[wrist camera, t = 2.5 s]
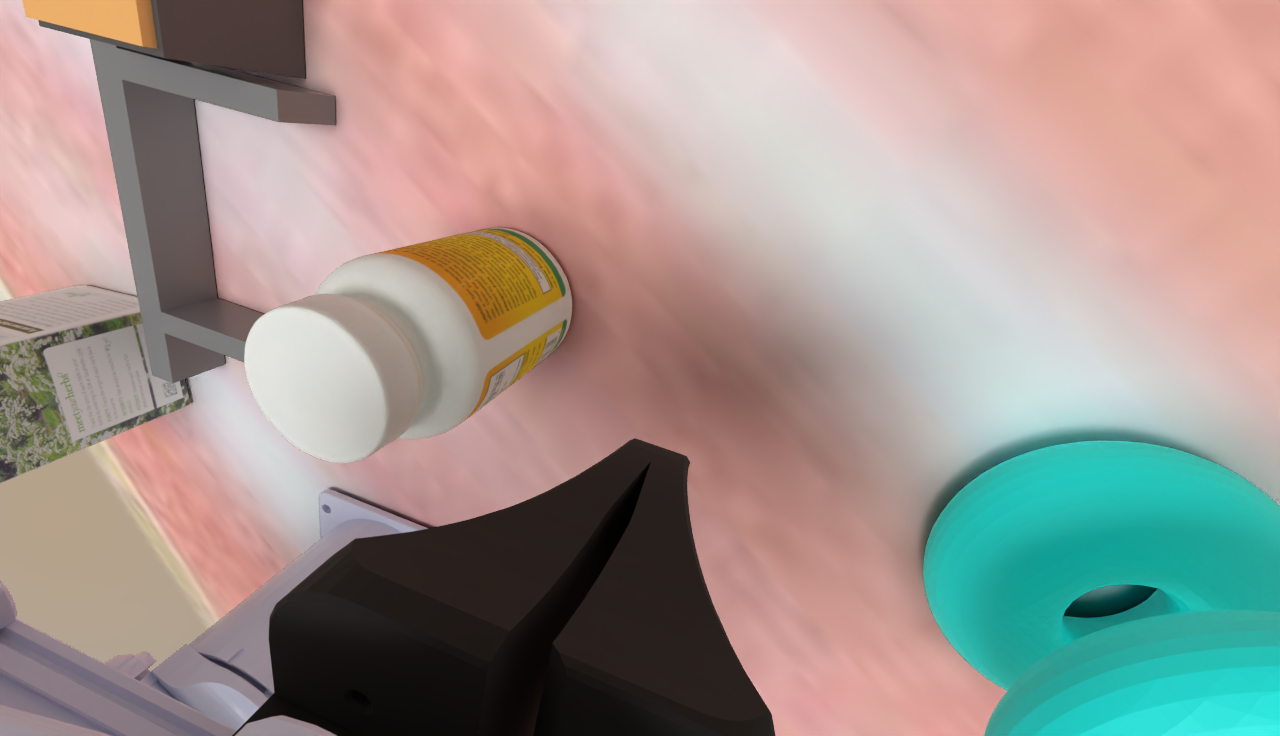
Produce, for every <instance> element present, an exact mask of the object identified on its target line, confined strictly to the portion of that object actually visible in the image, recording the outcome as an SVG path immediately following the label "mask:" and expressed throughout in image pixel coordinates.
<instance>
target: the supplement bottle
mask: <svg viewBox="0 0 1280 736" xmlns="http://www.w3.org/2000/svg"><path fill="white" fill-rule="evenodd" d="M571 316H572V296H571V291H570V287H569V283H568V280H567V277H566V276H565V274H564V272H563V270H562V268H561V267H560V265H559V264H558V262H557V261H556V260H555V258H554V257H553V256H552V254H551V253H550V252H549V251H548V250H547V249H546V248H545V247H544V246H543V245H542V244H541V243H539V242H538V241H537V240H535V239H534V238H532V237H531V236H529V235H527V234H525V233H522V232H519V231H516V230H513V229H508V228H488V229H483V230H477V231H474V232H469V233H463V234H459V235H454V236H450V237H446V238H441V239H437V240H432V241H428V242H424V243H420V244H415V245H411V246H406V247H401V248H397V249H393V250H388V251H384V252H379V253H375V254H370V255H366V256H362V257H359V258H356V259H353V260H351V261H349V262H346V263H344V264H343V265H341V266H340V267H338V268H337V269H335V270H334V271H333V272H332V273H331V274H330V275H329V276H328V277H327V278H326V279H325V280H324V281H323V282H322V284H321V285H320V287H319V288H318V290H317V292H316V294H315V295H312V296H309V297H306V298H304V299H301V300H298V301H295V302H292V303H289V304H286V305H283V306H279V307H277V308H275V309H273V310H271V311H269V312H267V313H265V314H264V315H263V316H261V317H260V318H259V319H258V320H257V321H256V322H255V323H254V325H253V326H252V328H251V330H250V332H249V334H248V337H247V340H246V344H245V353H244V364H245V371H246V376H247V380H248V384H249V386H250V389H251V392H252V394H253V396H254V398H255V400H256V402H257V404H258V406H259V408H260V409H261V411H262V413H263V414H264V415H265V417H266V418H267V419H268V420H269V422H270V423H271V424H272V425H273V427H274V428H275V429H276V430H277V431H278V432H279V433H280V434H281V435H282V436H283V437H284V438H285V439H286V440H287V441H289V442H290V443H291V444H293V445H294V446H295V447H297V448H298V449H299V450H301V451H303V452H305V453H307V454H309V455H311V456H314V457H316V458H318V459H321V460H325V461H328V462H333V463H352V462H356V461H359V460H362V459H364V458H366V457H368V456H370V455H372V454H373V453H375V452H376V451H378V450H379V449H381V448H382V447H384V446H385V445H387V444H388V443H390V442H392V441H394V440H396V439H397V438H406V439H420V438H428V437H432V436H436V435H439V434H442V433H445V432H447V431H449V430H451V429H452V428H454V427H456V426H457V425H459V424H460V423H462V422H463V421H464V420H466V419H467V418H468V417H470V416H471V415H472V414H474V413H475V412H477V411H478V410H479V409H480V408H482V407H483V406H484V405H486V404H487V403H488V402H490V401H491V400H492V399H494V398H495V397H496V396H498V395H499V394H500V393H501V392H502V391H504V390H505V389H506V388H508V387H509V386H510V385H512V384H513V383H514V382H516V381H517V380H518V379H520V378H521V377H522V376H523V375H525V374H526V373H527V372H529V371H530V370H531V369H533V368H534V367H535V366H536V365H538V364H539V363H540V362H542V361H543V360H544V359H545V358H547V357H548V356H549V355H550V354H551V353H552V352H553V351H555V350H556V348H557V347H558V346H559V345H560V343H561V342H562V341H563V339H564V337H565V336H566V334H567V331H568V329H569V326H570V321H571Z"/></svg>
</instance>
